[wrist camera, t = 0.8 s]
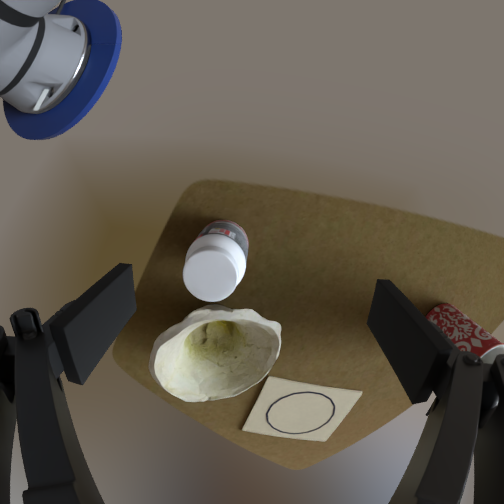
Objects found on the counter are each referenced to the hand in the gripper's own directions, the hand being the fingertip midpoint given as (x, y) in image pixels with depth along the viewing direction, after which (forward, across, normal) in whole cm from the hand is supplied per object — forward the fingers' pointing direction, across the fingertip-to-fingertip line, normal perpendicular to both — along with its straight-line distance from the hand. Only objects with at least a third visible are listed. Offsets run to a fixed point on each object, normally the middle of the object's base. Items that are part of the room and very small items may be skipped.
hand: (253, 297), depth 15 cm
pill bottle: (+19, -4, -3) cm, 19 cm away
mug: (+19, +27, -13) cm, 35 cm away
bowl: (+19, -3, -14) cm, 24 cm away
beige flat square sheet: (+18, +9, -30) cm, 37 cm away
